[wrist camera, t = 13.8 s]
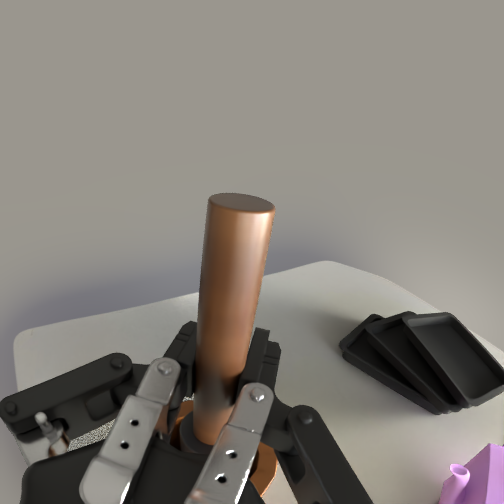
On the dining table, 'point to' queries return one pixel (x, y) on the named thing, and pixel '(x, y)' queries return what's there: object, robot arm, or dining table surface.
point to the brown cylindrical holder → (261, 465)
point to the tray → (426, 360)
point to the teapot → (477, 479)
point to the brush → (225, 310)
